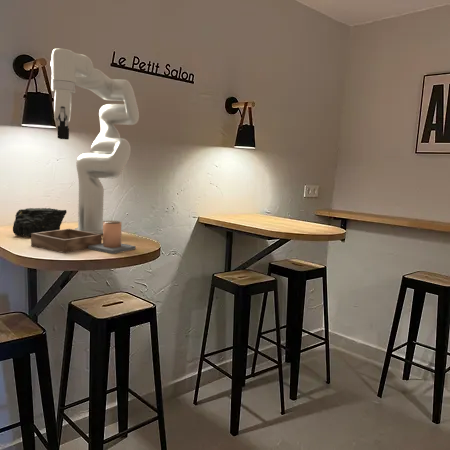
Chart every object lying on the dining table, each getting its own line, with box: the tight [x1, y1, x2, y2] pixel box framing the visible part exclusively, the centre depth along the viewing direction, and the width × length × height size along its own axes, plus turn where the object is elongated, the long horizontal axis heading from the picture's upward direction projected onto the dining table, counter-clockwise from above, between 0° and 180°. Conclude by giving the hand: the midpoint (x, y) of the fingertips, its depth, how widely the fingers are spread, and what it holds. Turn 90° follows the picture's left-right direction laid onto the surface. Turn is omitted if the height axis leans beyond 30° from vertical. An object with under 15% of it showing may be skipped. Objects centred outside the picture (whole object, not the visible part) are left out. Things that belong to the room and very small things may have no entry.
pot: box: [102, 220, 122, 248], centre depth 152 cm, size 6×6×8 cm
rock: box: [12, 207, 67, 237], centre depth 170 cm, size 18×10×15 cm
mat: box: [87, 242, 137, 255], centre depth 152 cm, size 11×11×1 cm
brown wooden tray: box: [30, 228, 103, 253], centre depth 153 cm, size 16×16×4 cm
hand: (63, 138), depth 155 cm, fingers open, 9 cm apart
